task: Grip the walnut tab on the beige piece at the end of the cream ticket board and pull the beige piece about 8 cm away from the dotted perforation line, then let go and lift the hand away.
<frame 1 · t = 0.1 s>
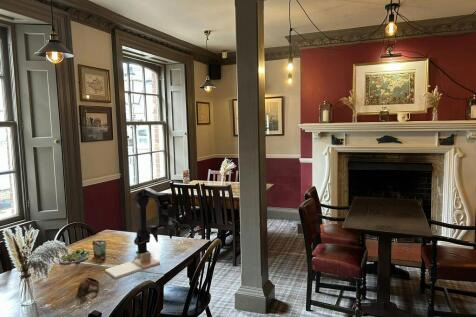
hand: (164, 240, 205), 15 cm above the table, tool pointing down, fingers open, 9 cm apart
food container: (102, 257, 220), on the table
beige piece: (145, 258, 207), point 3 cm above the table, slide at 0.0 cm
pottery mug: (87, 293, 171), on the table
salad plate: (74, 259, 219), on the table
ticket: (123, 270, 197), on the table
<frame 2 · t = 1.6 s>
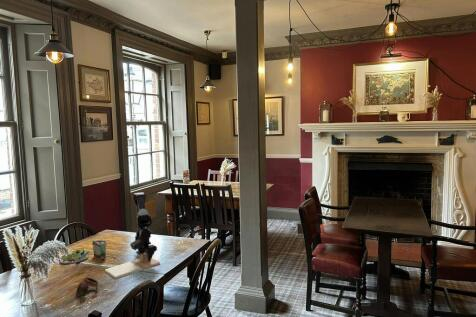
hand: (145, 259, 207), 2 cm above the table, tool pointing down, fingers open, 9 cm apart
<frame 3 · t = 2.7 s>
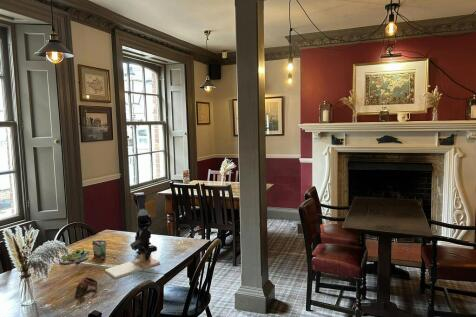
hand: (145, 260, 207), 2 cm above the table, tool pointing down, fingers closed on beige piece, 3 cm apart
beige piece: (145, 258, 207), point 3 cm above the table, slide at 0.0 cm, touching gripper
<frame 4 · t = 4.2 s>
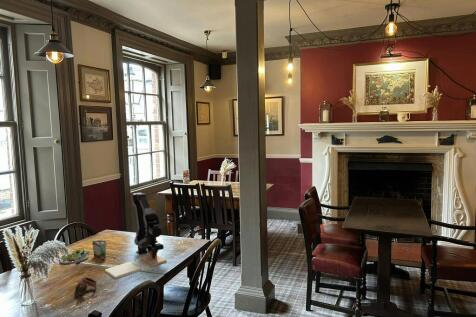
hand: (152, 257, 210), 2 cm above the table, tool pointing down, fingers closed on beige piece, 3 cm apart
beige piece: (152, 256, 210), point 3 cm above the table, slide at 4.6 cm, touching gripper
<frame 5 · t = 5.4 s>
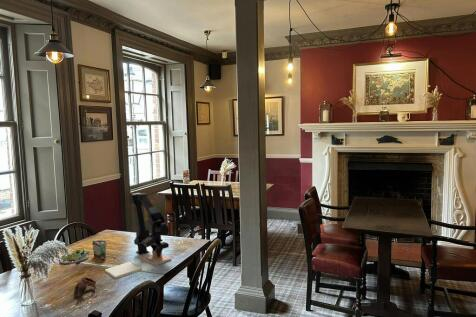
hand: (157, 256, 212), 2 cm above the table, tool pointing down, fingers closed on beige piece, 3 cm apart
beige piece: (157, 254, 212), point 3 cm above the table, slide at 7.9 cm, touching gripper
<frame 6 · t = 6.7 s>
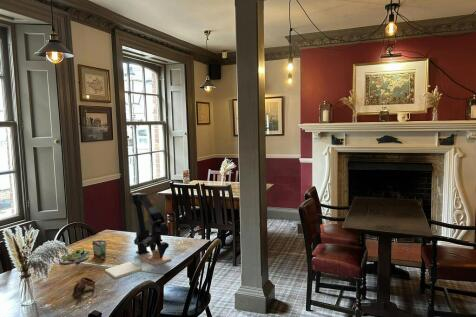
hand: (157, 256, 212), 2 cm above the table, tool pointing down, fingers open, 9 cm apart
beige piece: (157, 254, 212), point 3 cm above the table, slide at 7.9 cm
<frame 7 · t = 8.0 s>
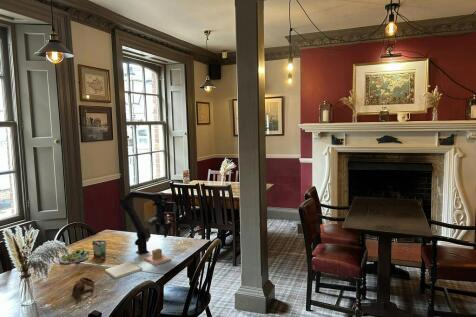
hand: (161, 235, 222), 12 cm above the table, tool pointing down, fingers open, 9 cm apart
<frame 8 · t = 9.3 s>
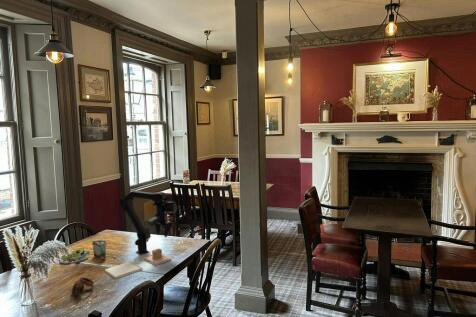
hand: (161, 235, 222), 12 cm above the table, tool pointing down, fingers open, 9 cm apart
at the end: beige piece slide at 7.9 cm; the gripper is holding nothing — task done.
